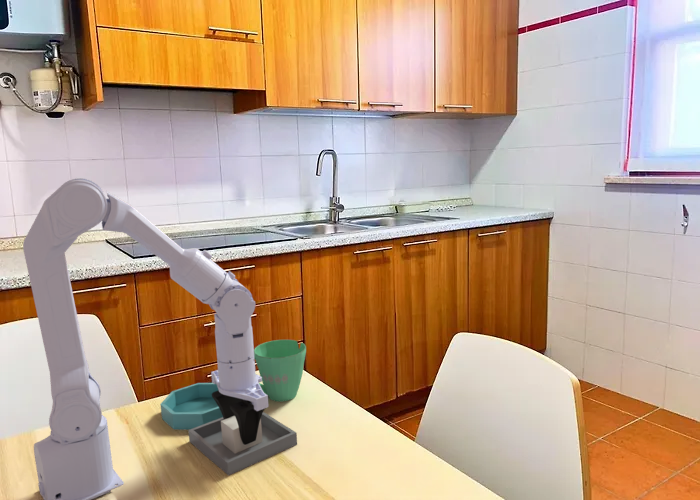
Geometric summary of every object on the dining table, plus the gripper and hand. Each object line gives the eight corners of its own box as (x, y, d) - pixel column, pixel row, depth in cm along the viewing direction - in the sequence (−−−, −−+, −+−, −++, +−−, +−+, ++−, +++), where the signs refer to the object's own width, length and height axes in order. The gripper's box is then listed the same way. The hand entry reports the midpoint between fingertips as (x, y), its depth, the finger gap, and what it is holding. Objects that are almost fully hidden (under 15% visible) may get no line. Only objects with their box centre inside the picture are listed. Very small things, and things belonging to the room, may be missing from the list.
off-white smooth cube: (234, 453, 85) (232, 429, 85) (222, 443, 88) (220, 420, 88) (262, 441, 88) (260, 418, 88) (249, 432, 92) (248, 410, 91)
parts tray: (228, 478, 80) (227, 462, 79) (189, 444, 90) (188, 430, 89) (297, 447, 87) (296, 432, 87) (254, 418, 97) (253, 405, 97)
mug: (314, 388, 109) (311, 340, 107) (300, 411, 100) (297, 359, 98) (245, 384, 112) (241, 338, 110) (225, 406, 103) (220, 356, 101)
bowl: (183, 439, 91) (181, 421, 90) (154, 414, 101) (152, 397, 100) (249, 414, 99) (248, 397, 98) (217, 393, 109) (215, 377, 108)
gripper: (282, 361, 83) (288, 444, 85) (235, 339, 94) (241, 413, 96) (241, 375, 78) (248, 462, 81) (197, 350, 89) (204, 427, 92)
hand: (242, 436), depth 88 cm, fingers closed on off-white smooth cube, 4 cm apart
